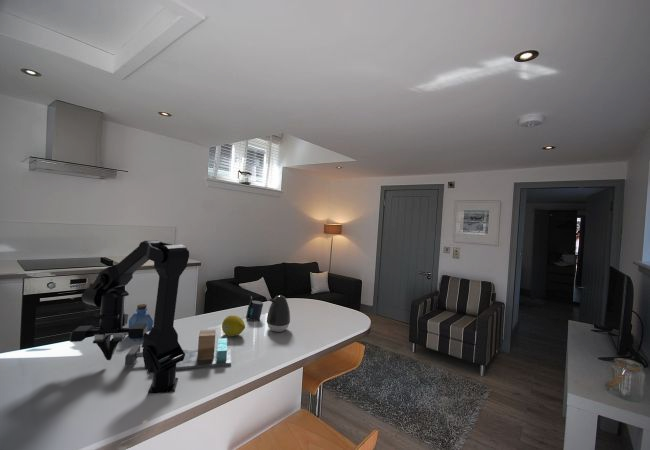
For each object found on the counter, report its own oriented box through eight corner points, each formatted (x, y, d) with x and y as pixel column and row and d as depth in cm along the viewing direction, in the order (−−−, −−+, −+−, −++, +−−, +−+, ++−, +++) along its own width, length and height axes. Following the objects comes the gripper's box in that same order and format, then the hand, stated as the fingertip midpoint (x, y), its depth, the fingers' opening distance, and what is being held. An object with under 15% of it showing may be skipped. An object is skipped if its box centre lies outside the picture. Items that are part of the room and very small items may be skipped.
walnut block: (213, 359, 98) (215, 335, 98) (197, 360, 97) (198, 335, 97) (214, 352, 103) (215, 329, 103) (198, 353, 102) (200, 330, 101)
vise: (147, 372, 89) (148, 357, 89) (156, 354, 101) (157, 340, 101) (230, 365, 97) (231, 351, 97) (230, 349, 108) (231, 336, 108)
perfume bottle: (145, 332, 118) (147, 302, 118) (152, 336, 114) (154, 305, 114) (128, 336, 114) (129, 304, 113) (133, 341, 110) (135, 308, 109)
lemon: (216, 334, 121) (218, 314, 121) (233, 329, 127) (234, 311, 127) (231, 342, 114) (233, 321, 114) (248, 337, 120) (250, 317, 120)
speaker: (242, 320, 139) (246, 298, 139) (246, 316, 144) (250, 295, 145) (258, 323, 138) (262, 301, 138) (261, 319, 144) (265, 298, 144)
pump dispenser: (261, 328, 131) (263, 294, 131) (281, 324, 138) (283, 291, 138) (273, 336, 123) (276, 299, 123) (294, 331, 130) (296, 296, 130)
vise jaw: (123, 368, 88) (124, 357, 88) (133, 353, 98) (134, 343, 98) (164, 365, 92) (165, 354, 92) (170, 351, 101) (171, 341, 101)
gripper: (152, 301, 102) (150, 346, 102) (87, 302, 96) (84, 350, 96) (144, 311, 91) (141, 362, 91) (70, 313, 85) (66, 367, 85)
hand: (109, 359), depth 91 cm, fingers closed
